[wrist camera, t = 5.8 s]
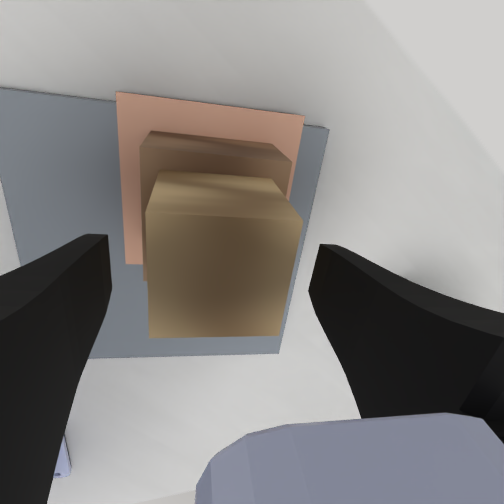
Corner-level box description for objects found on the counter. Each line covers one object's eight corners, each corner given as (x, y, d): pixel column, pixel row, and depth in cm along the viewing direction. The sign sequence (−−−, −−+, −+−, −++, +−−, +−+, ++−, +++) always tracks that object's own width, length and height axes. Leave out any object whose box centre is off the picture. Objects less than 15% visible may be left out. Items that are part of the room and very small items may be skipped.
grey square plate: (47, 350, 22) (41, 360, 21) (-14, 73, 14) (-26, 73, 14) (276, 345, 25) (278, 354, 24) (326, 117, 18) (332, 119, 17)
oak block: (160, 268, 15) (148, 338, 11) (159, 169, 13) (145, 211, 9) (257, 270, 16) (278, 335, 12) (271, 178, 14) (303, 221, 10)
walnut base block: (152, 242, 18) (143, 281, 15) (151, 130, 16) (139, 146, 12) (256, 246, 20) (269, 283, 16) (271, 143, 17) (292, 161, 13)
